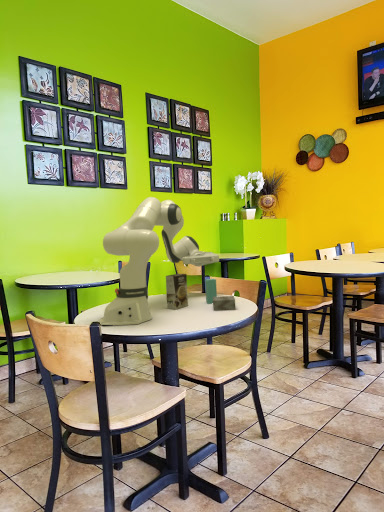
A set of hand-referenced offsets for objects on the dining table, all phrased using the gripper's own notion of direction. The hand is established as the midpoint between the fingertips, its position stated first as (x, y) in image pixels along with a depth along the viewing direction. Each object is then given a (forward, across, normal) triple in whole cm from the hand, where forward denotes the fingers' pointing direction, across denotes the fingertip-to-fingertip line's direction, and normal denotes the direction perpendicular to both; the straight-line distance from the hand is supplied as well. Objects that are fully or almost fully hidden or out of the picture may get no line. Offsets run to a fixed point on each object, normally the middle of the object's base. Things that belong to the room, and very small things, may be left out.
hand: (203, 260), depth 211 cm
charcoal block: (+27, +2, +21) cm, 34 cm away
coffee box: (+15, -18, +21) cm, 32 cm away
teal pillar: (+12, 0, +21) cm, 24 cm away
